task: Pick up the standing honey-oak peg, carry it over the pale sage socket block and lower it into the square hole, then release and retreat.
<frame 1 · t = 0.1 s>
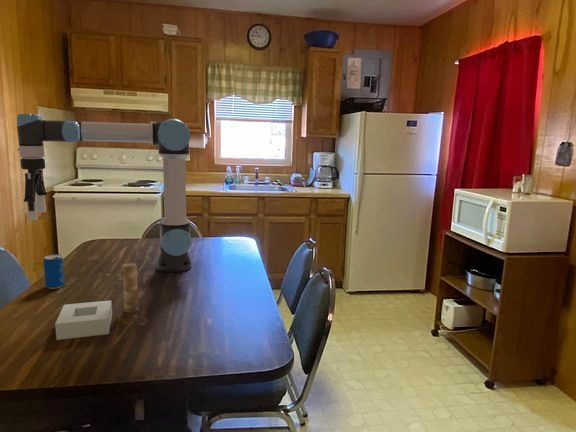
hand: (37, 215, 153), 28 cm above the table, fingers open, 13 cm apart
oak peg: (131, 310, 142), on the table
beverage can: (55, 287, 160), on the table
socket block: (86, 326, 129), on the table
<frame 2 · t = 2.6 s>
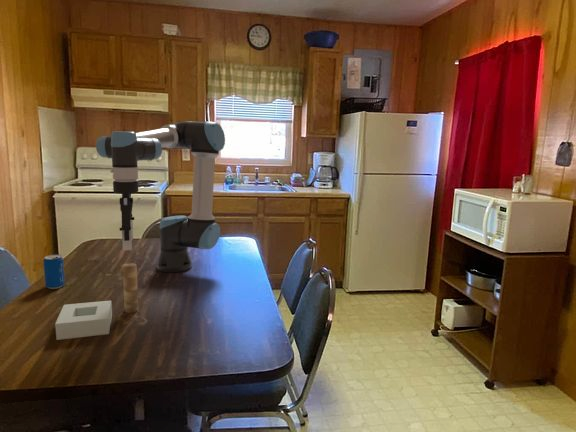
hand: (128, 244, 137), 23 cm above the table, fingers open, 13 cm apart
nothing on the table moved.
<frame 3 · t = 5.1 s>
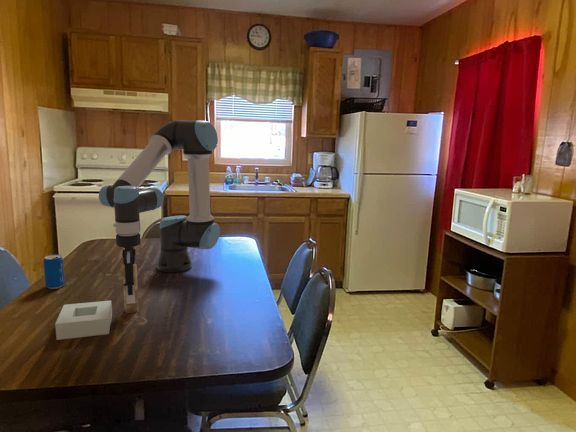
hand: (131, 300, 141), 4 cm above the table, fingers closed on oak peg, 4 cm apart
oak peg: (131, 310, 142), on the table, touching gripper
everything else where it was.
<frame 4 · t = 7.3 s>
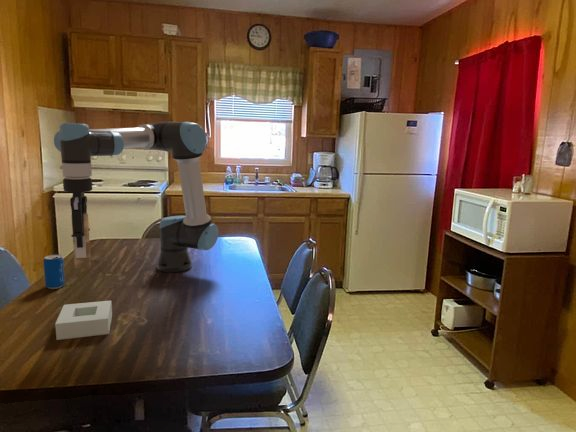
hand: (82, 254, 125), 23 cm above the table, fingers closed on oak peg, 4 cm apart
oak peg: (82, 266, 126), point 19 cm above the table, touching gripper
everything else where it was.
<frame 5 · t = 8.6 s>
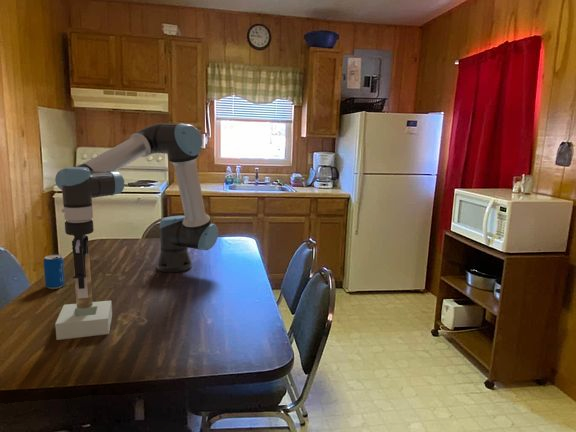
hand: (84, 294, 127), 11 cm above the table, fingers closed on oak peg, 4 cm apart
oak peg: (84, 305, 128), point 7 cm above the table, touching gripper
everything else where it was.
when the fingers open (7 cm above the table, at t = 9.6 s): oak peg drops 3 cm, resting in socket block.
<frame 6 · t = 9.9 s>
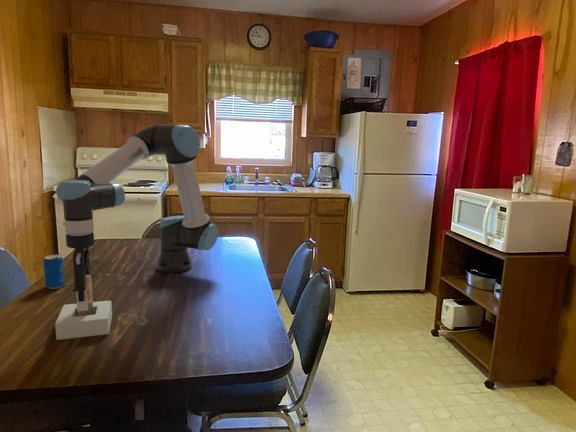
hand: (84, 304, 128), 7 cm above the table, fingers open, 8 cm apart
oak peg: (86, 326, 129), resting in socket block
everything else where it was.
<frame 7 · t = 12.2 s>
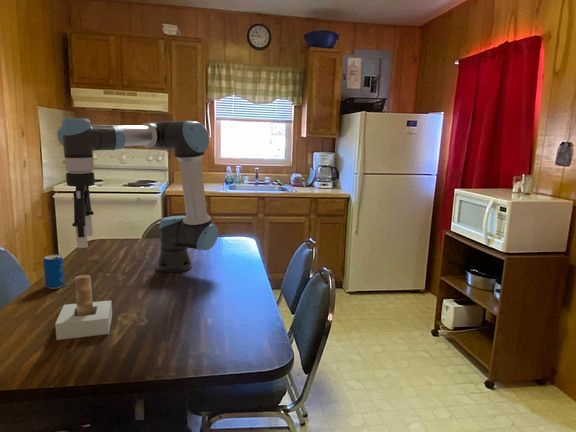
hand: (85, 241, 127), 27 cm above the table, fingers open, 13 cm apart
nothing on the table moved.
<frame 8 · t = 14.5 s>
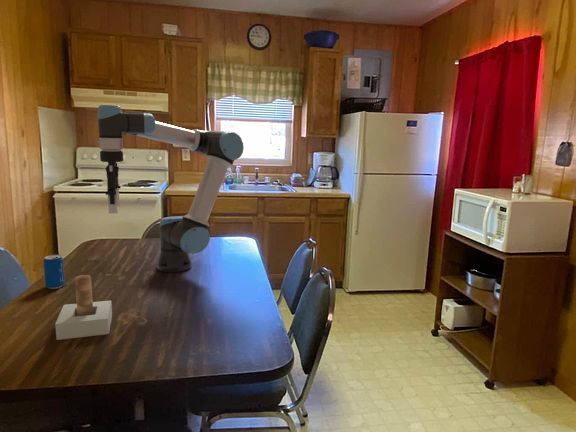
hand: (114, 209, 151), 32 cm above the table, fingers open, 13 cm apart
nothing on the table moved.
at the end: oak peg 0.2 cm off-centre on the socket block, point 0.0 cm above the socket block's base; oak peg tilted 0°; the gripper is holding nothing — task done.
